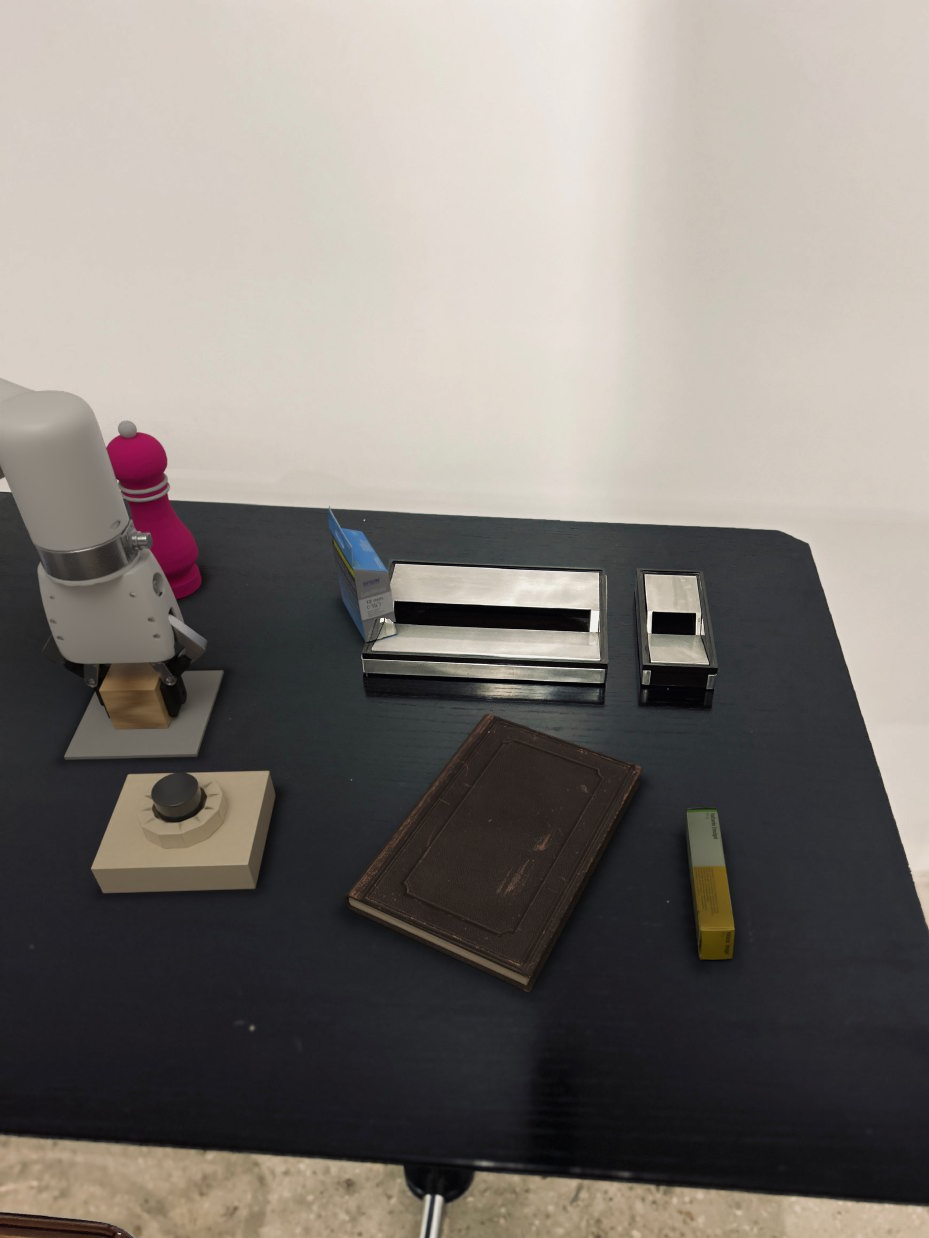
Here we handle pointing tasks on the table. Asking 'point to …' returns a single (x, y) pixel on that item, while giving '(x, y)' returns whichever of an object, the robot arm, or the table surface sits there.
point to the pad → (175, 741)
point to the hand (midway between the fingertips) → (147, 706)
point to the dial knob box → (187, 837)
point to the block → (134, 697)
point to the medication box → (709, 884)
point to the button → (177, 797)
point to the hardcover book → (498, 849)
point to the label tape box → (361, 577)
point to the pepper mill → (154, 505)
